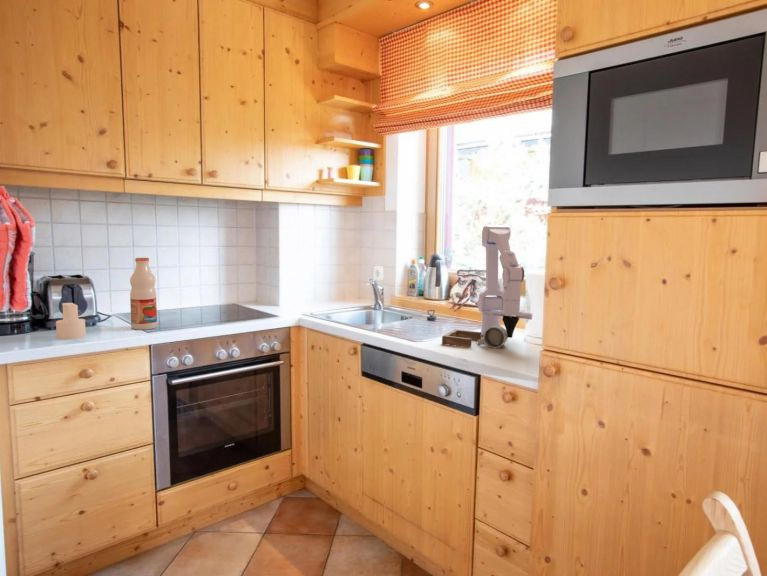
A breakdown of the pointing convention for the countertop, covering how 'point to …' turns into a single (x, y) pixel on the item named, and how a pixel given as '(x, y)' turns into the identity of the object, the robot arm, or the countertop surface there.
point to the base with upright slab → (70, 323)
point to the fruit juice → (143, 297)
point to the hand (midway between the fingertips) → (509, 337)
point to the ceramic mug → (494, 337)
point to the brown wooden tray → (460, 337)
